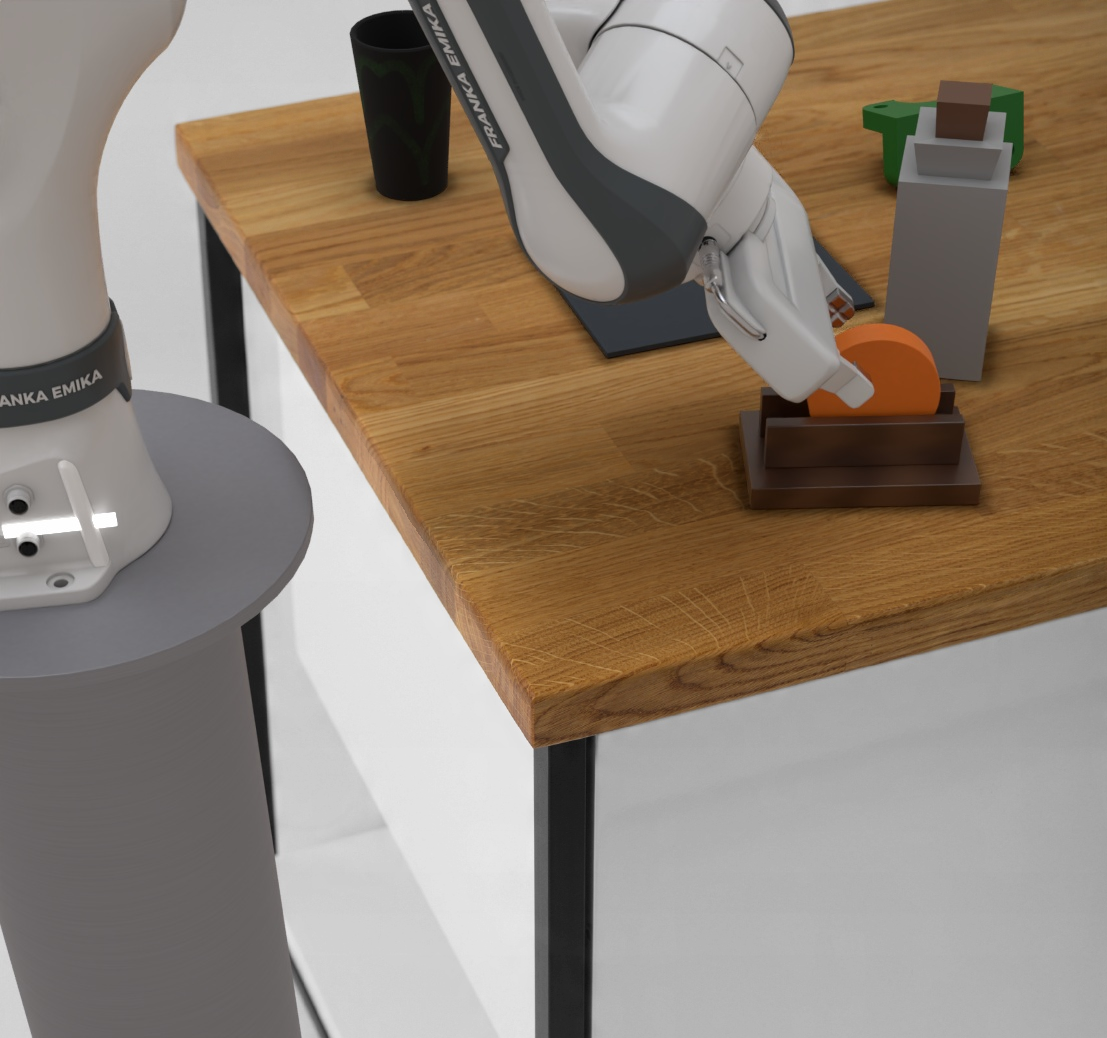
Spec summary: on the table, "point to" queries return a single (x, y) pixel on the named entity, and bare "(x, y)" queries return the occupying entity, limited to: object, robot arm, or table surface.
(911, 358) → the disc
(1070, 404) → the table surface
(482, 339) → the table surface
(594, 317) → the mat
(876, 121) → the clamp
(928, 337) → the perfume bottle
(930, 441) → the rack
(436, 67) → the cup
